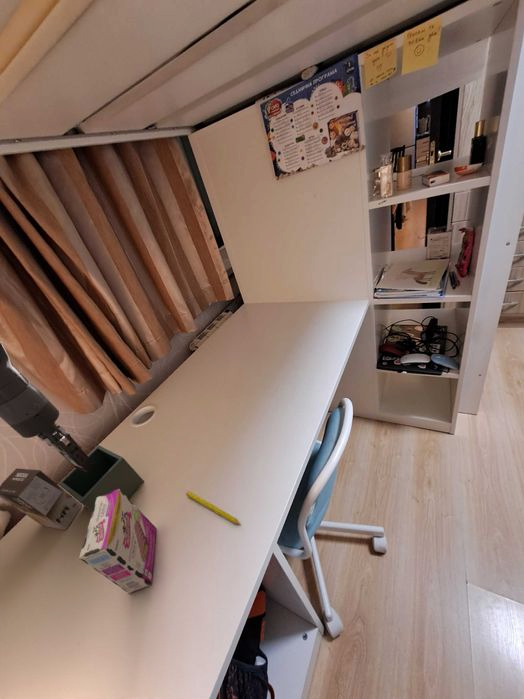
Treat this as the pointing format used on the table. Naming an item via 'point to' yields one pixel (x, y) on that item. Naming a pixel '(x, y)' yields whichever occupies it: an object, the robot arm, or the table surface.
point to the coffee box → (39, 498)
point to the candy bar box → (120, 542)
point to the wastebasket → (101, 478)
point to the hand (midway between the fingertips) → (77, 458)
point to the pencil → (213, 508)
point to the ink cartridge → (85, 467)
